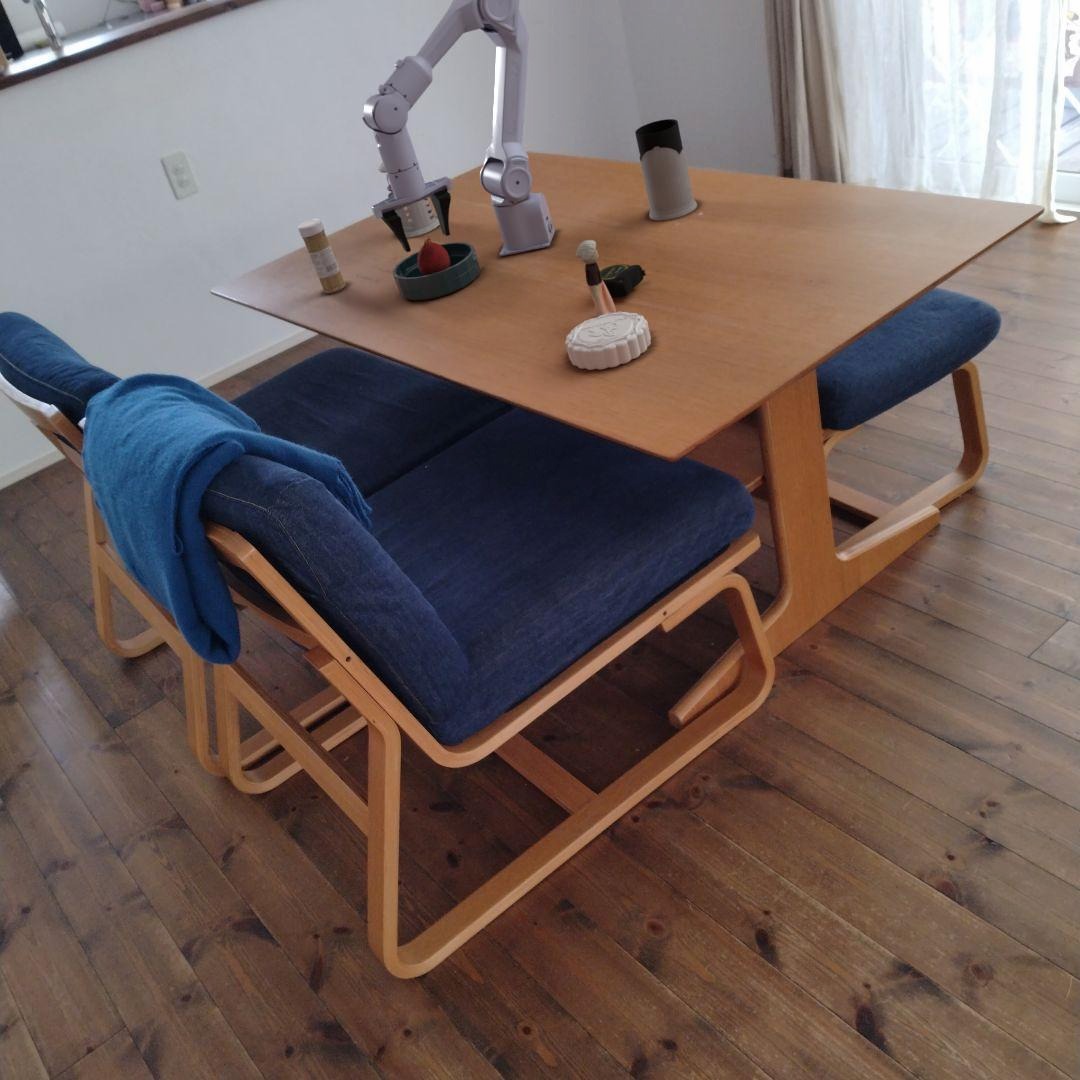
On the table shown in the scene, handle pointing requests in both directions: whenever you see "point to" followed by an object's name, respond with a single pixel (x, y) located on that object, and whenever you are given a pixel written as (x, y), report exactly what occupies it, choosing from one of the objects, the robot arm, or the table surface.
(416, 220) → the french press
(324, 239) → the sprinkles bottle
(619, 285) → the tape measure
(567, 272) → the table surface
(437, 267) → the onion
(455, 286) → the bowl
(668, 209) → the glass holder
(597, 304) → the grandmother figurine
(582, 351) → the mooncake
